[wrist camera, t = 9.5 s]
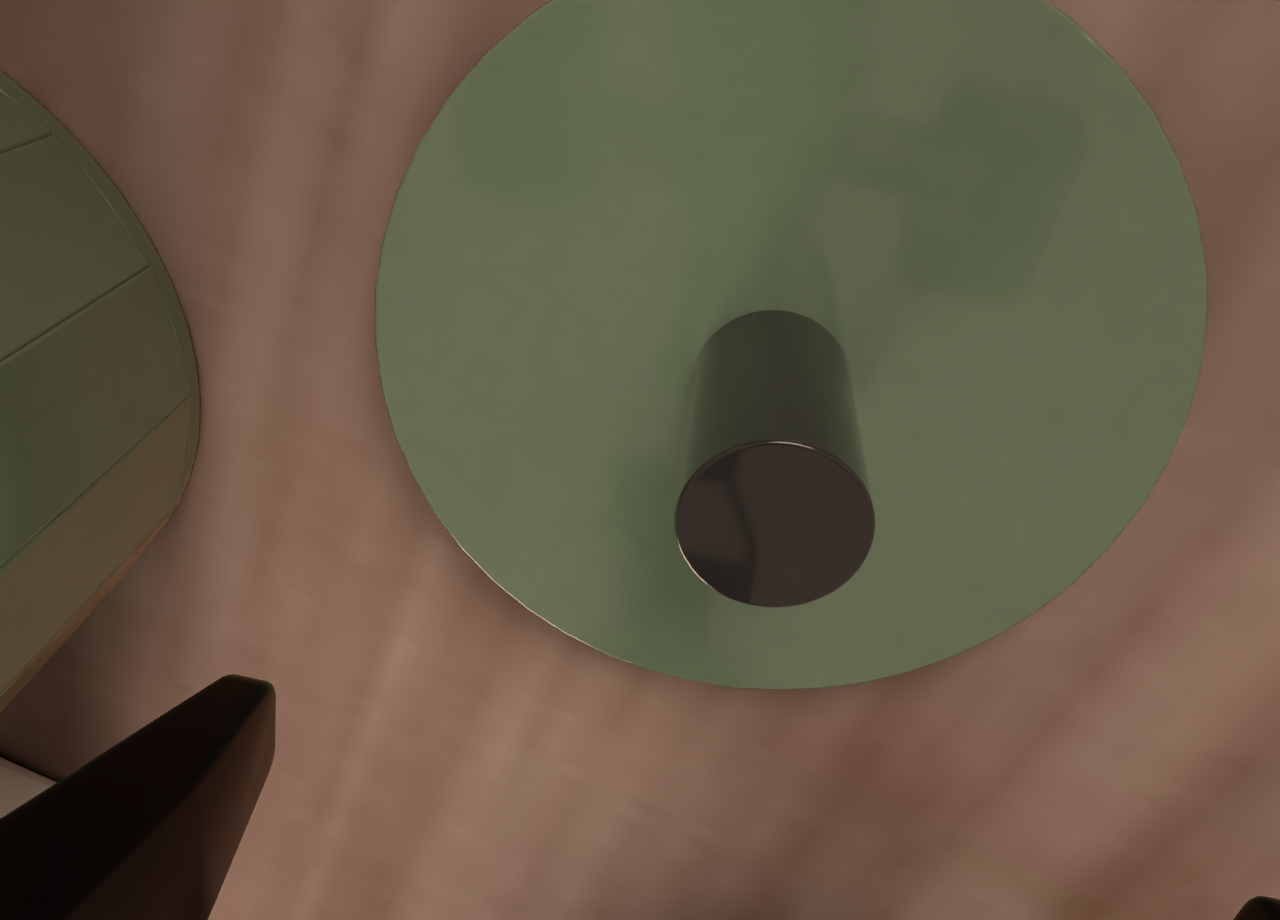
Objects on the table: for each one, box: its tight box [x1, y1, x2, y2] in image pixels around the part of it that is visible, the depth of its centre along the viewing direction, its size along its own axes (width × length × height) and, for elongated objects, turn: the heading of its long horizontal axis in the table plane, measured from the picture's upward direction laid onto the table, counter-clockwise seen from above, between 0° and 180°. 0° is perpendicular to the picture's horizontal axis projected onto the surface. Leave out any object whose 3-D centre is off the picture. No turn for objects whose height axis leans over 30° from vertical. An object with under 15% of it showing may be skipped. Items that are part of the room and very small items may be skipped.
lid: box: [375, 0, 1207, 690], centre depth 16 cm, size 14×14×6 cm
